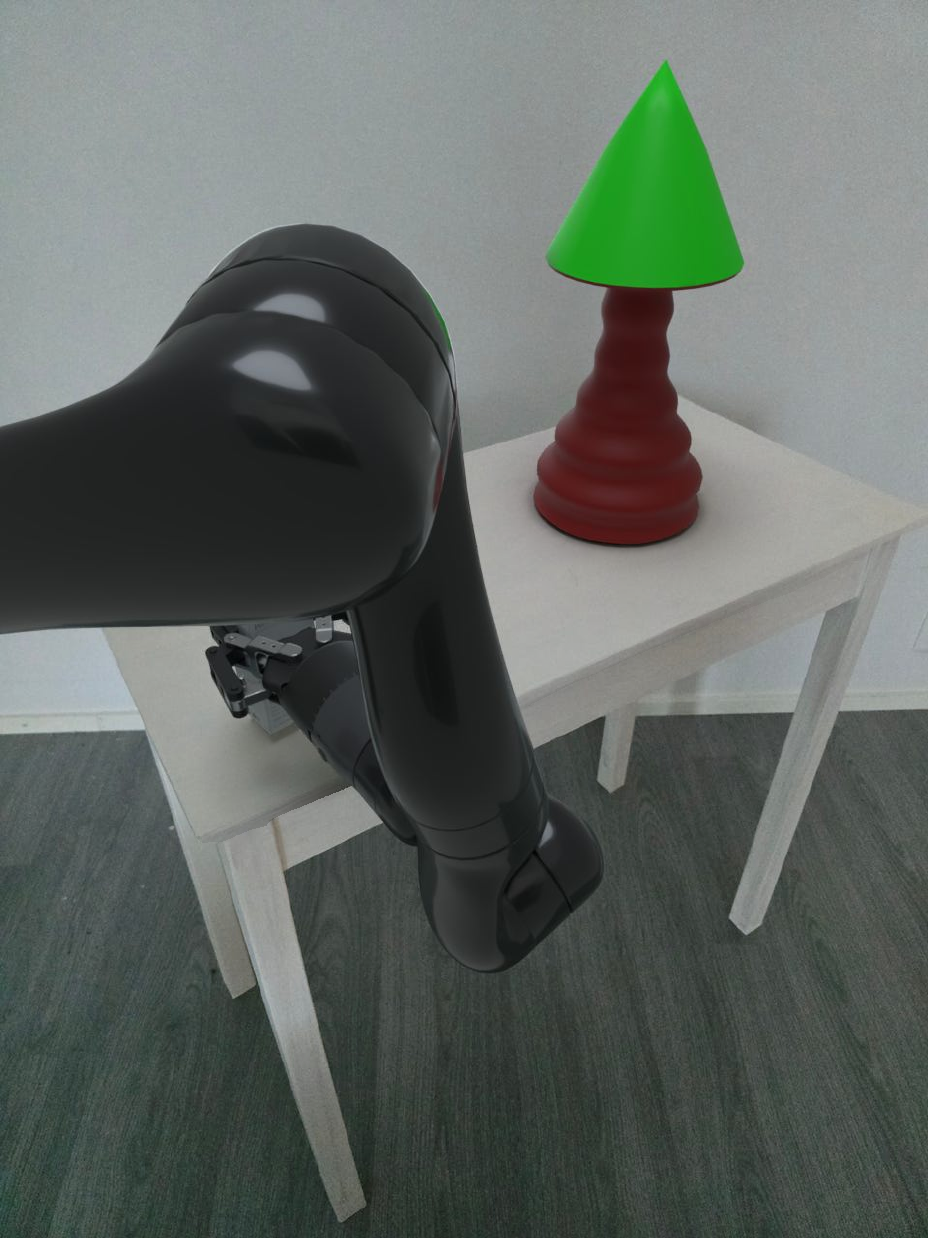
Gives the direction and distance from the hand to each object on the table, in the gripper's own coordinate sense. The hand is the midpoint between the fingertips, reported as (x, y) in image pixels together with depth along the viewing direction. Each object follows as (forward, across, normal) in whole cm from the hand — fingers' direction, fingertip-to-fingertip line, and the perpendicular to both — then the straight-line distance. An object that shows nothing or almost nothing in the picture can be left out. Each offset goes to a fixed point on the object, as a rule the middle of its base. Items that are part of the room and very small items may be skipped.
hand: (256, 603), depth 69 cm
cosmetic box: (-2, 0, +10) cm, 10 cm away
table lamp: (+6, -49, +11) cm, 50 cm away
